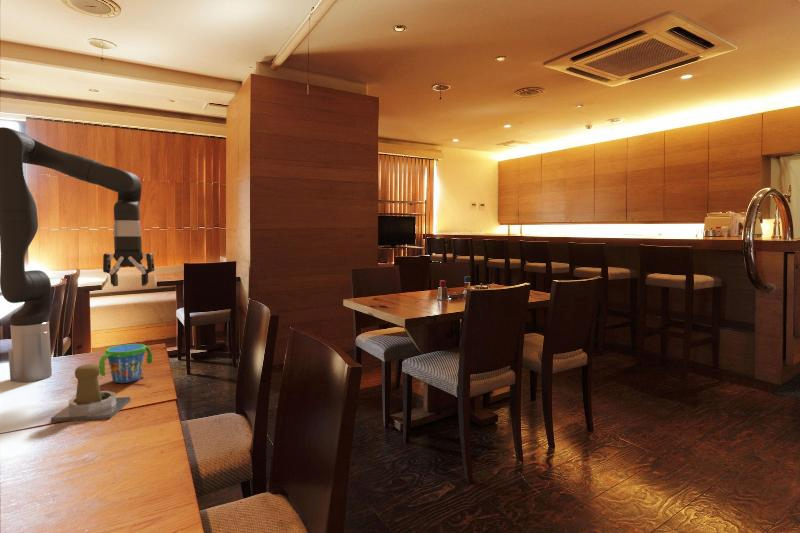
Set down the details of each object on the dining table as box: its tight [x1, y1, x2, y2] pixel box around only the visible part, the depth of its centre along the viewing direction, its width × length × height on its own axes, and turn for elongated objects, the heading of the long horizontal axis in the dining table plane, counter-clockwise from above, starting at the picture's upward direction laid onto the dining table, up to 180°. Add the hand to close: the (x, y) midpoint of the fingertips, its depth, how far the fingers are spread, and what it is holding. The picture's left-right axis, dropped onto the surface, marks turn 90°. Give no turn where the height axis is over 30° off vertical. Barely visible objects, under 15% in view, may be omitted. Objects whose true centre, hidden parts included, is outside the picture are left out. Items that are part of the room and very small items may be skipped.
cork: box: [74, 363, 102, 404], centre depth 116 cm, size 6×6×11 cm
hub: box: [50, 390, 132, 423], centre depth 117 cm, size 13×12×3 cm
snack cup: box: [98, 343, 153, 384], centre depth 140 cm, size 16×10×10 cm
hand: (129, 285), depth 146 cm, fingers open, 8 cm apart
